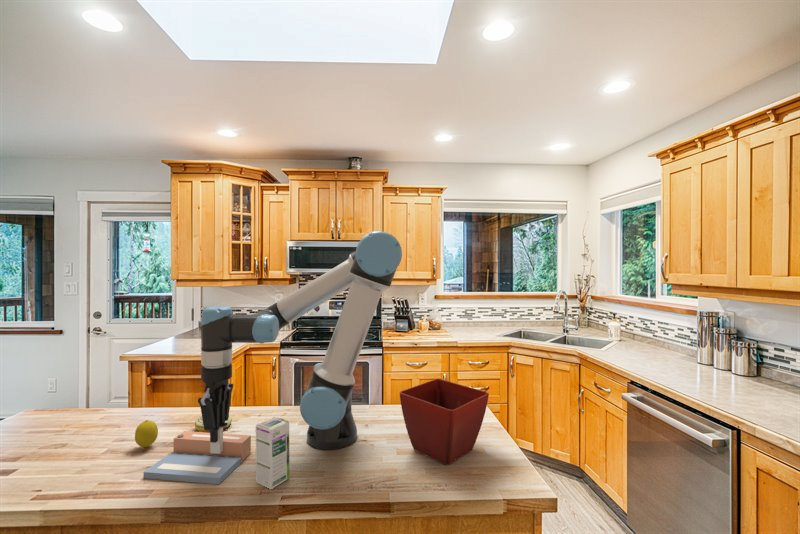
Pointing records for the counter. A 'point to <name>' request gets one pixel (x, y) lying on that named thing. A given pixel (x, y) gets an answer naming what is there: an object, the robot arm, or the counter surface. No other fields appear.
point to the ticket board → (193, 467)
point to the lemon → (146, 433)
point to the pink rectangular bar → (201, 444)
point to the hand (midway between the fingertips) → (216, 451)
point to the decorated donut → (200, 426)
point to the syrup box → (272, 452)
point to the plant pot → (443, 418)
